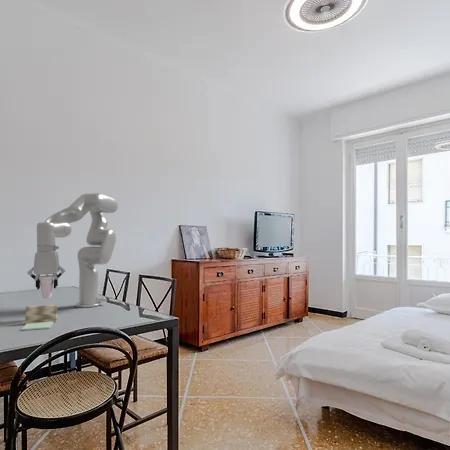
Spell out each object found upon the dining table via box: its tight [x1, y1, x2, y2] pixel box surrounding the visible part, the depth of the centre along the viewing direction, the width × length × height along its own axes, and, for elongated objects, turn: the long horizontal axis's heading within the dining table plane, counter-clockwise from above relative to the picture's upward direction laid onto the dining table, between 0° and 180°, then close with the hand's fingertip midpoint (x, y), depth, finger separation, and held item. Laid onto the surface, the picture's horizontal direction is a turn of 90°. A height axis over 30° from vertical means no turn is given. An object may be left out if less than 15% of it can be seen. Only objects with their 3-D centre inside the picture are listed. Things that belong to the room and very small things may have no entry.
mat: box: [20, 322, 54, 332], centre depth 146 cm, size 10×10×1 cm
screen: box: [24, 304, 58, 325], centre depth 154 cm, size 12×3×7 cm, turn 108°
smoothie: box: [39, 274, 54, 299], centre depth 162 cm, size 6×6×14 cm
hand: (46, 288), depth 162 cm, fingers closed on smoothie, 6 cm apart
